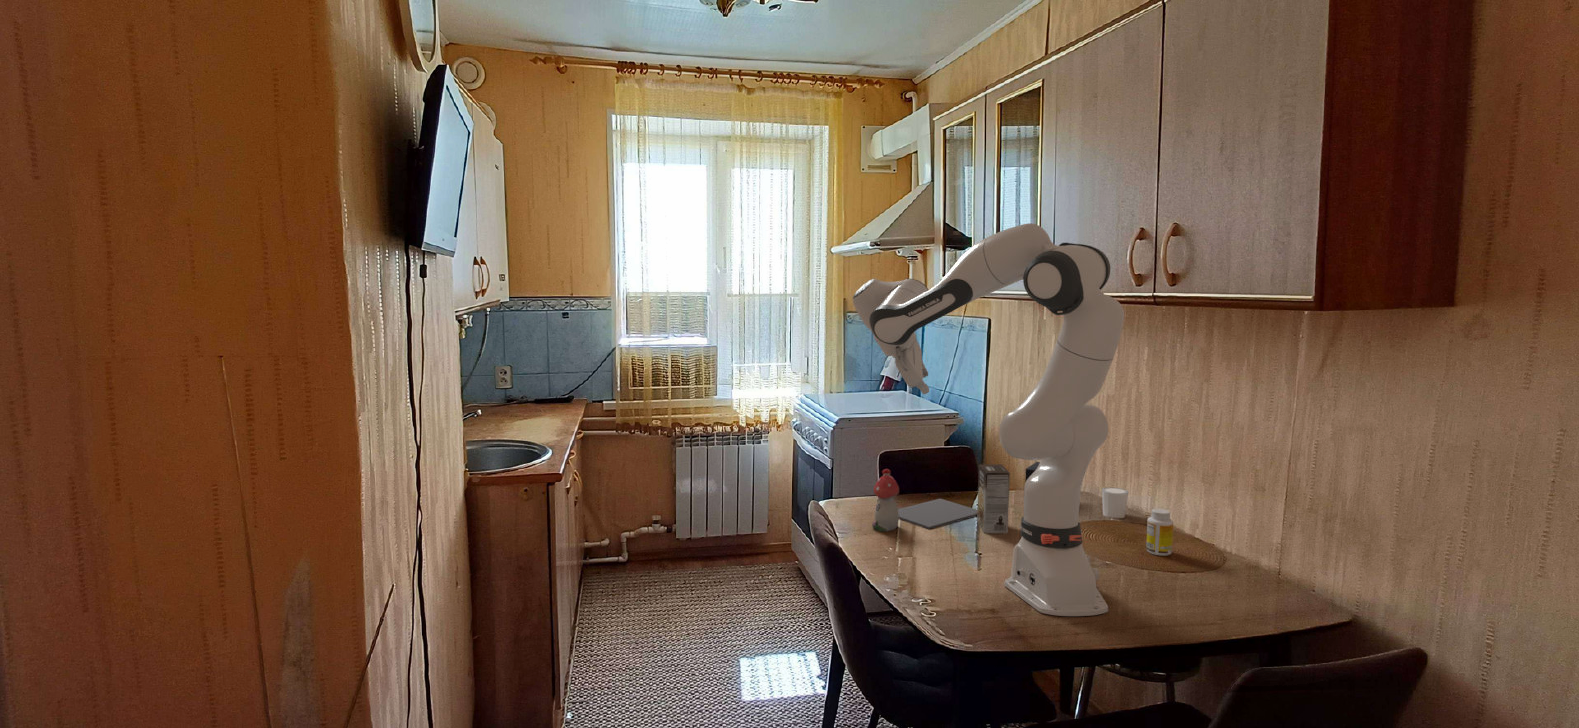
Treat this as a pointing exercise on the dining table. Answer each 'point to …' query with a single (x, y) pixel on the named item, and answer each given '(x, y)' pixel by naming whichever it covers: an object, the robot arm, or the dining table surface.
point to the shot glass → (1114, 502)
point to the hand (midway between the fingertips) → (926, 383)
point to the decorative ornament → (886, 503)
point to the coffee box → (993, 498)
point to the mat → (935, 513)
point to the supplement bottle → (1159, 533)
